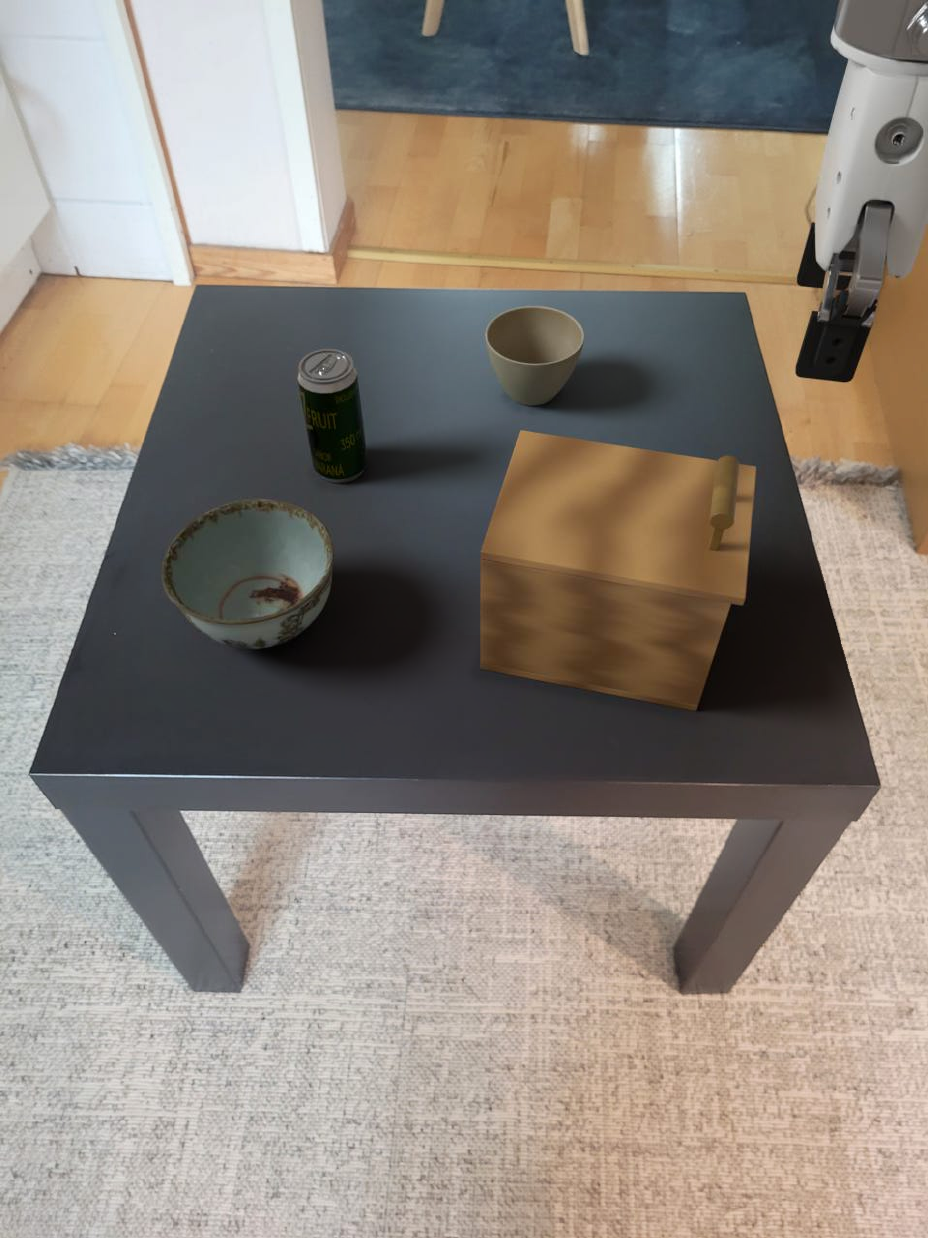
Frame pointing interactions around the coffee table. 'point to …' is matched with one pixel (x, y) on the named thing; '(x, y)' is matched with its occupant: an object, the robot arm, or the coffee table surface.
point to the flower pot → (533, 351)
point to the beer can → (333, 414)
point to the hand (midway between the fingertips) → (821, 329)
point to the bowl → (250, 572)
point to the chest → (598, 634)
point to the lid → (626, 516)
